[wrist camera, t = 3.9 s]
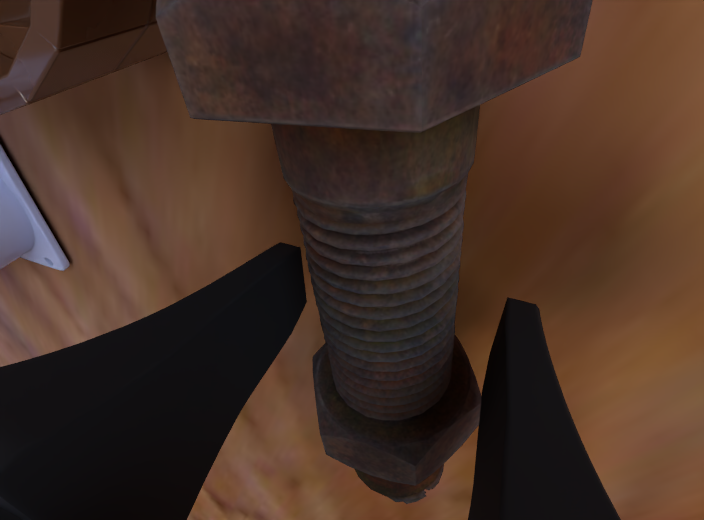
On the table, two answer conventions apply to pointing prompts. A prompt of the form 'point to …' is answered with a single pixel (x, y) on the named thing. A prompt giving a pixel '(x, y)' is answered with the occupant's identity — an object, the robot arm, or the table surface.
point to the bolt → (375, 186)
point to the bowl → (70, 44)
